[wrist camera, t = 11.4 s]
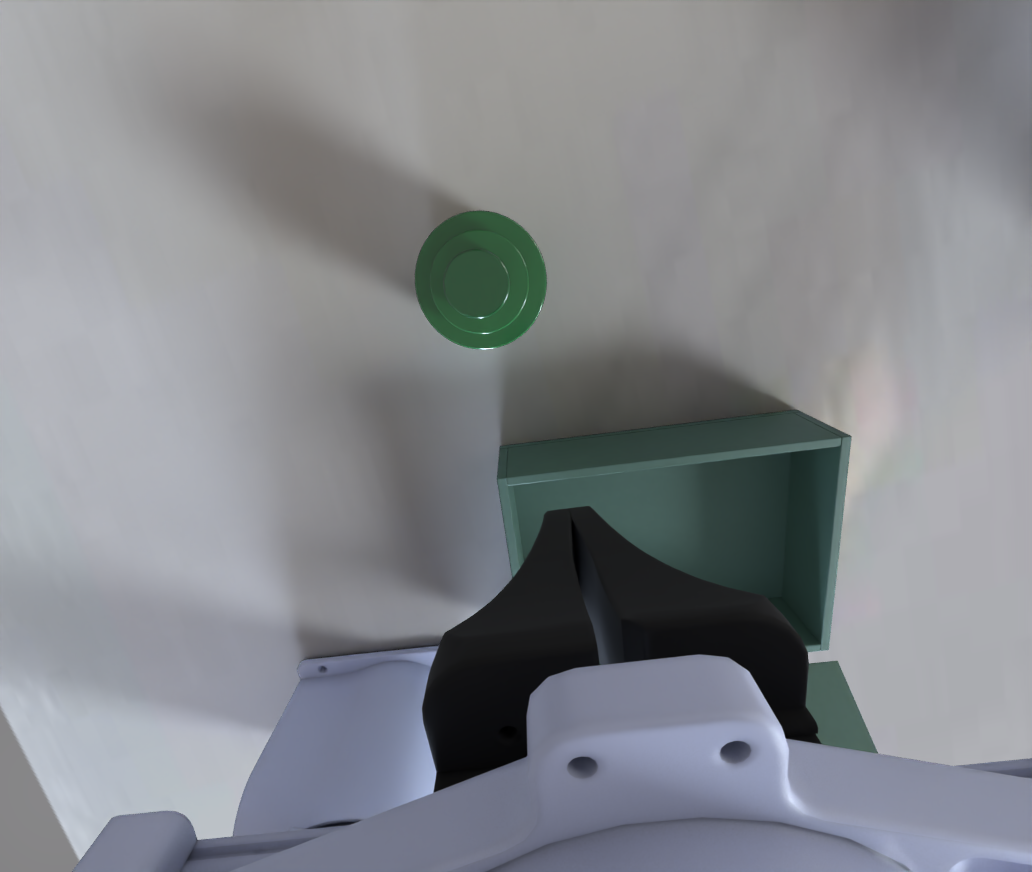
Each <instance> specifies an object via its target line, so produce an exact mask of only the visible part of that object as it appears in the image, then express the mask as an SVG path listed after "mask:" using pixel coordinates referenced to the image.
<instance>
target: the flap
mask: <svg viewBox="0 0 1032 872" xmlns="http://www.w3.org/2000/svg"><path fill="white" fill-rule="evenodd" d="M806 707H807V709H808V710H809V712H810V713H811V715H812V716H813V718H814V719H815V721H816V723H817V726H818V734H816V736H817V737H818V739H819V740H820V742H821V743H822V745H828V746H834V747H840V748H846V749H852V750H859V751H865V752H871V753H877V754H878V752H877V750H876V748H875V745H874V743H873V741H872V739H871V736H870V734H869V732H868V729H867V727H866V725H865V723H864V720H863V718H862V716H861V713H860V711H859V709H858V707H857V704H856V702H855V700H854V697H853V695H852V693H851V691H850V688H849V686H848V684H847V681H846V679H845V677H844V675H843V672H842V670H841V668H840V665H839V663H838V661H830V662H820V663H810V664H809V670H808V683H807V695H806Z"/></svg>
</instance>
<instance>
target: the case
mask: <svg viewBox="0 0 1032 872" xmlns="http://www.w3.org/2000/svg"><path fill="white" fill-rule="evenodd" d="M850 445H851V436H850V435H848V434H846V433H844V432H842V431H840V430H837V429H835V428H833V427H831V426H829V425H827V424H825V423H823V422H821V421H819V420H817V419H815V418H813V417H811V416H809V415H807V414H805V413H803V412H801V411H799V410H790V411H782V412H774V413H766V414H758V415H750V416H741V417H733V418H725V419H717V420H709V421H701V422H693V423H685V424H676V425H668V426H660V427H652V428H644V429H636V430H628V431H620V432H612V433H603V434H595V435H587V436H579V437H571V438H563V439H555V440H547V441H538V442H530V443H522V444H514V445H506V446H500V451H499V462H498V473H497V483H498V489H499V496H500V502H501V508H502V515H503V521H504V527H505V534H506V540H507V546H508V553H509V559H510V566H511V572H512V578H513V577H514V576H515V574H516V573H517V572H518V570H519V569H520V567H521V566H522V564H523V563H524V561H525V559H526V557H527V556H528V554H529V552H530V550H531V549H532V547H533V545H534V542H535V540H536V538H537V536H538V534H539V531H540V528H541V525H542V522H543V518H544V514H545V513H546V512H547V511H550V510H558V509H567V508H575V507H583V506H590V507H592V508H593V509H594V510H595V511H596V512H597V513H598V514H599V515H600V516H601V517H602V518H603V519H604V520H605V521H606V522H607V523H608V524H609V525H610V526H611V527H612V528H614V529H615V530H616V531H617V532H618V533H619V534H621V535H622V536H623V537H624V538H625V539H627V540H628V541H629V542H631V543H632V544H633V545H635V546H636V547H638V548H639V549H641V550H642V551H644V552H645V553H647V554H649V555H650V556H652V557H654V558H656V559H658V560H659V561H661V562H663V563H665V564H667V565H669V566H671V567H673V568H675V569H678V570H680V571H682V572H685V573H687V574H689V575H692V576H694V577H697V578H700V579H703V580H705V581H709V582H712V583H715V584H718V585H722V586H725V587H728V588H733V589H737V590H742V591H746V592H751V593H755V594H760V595H764V596H765V597H766V598H767V599H768V600H769V601H770V602H771V603H772V604H773V605H774V606H775V607H776V608H777V609H778V610H779V611H780V612H781V613H782V614H783V616H784V617H785V618H786V619H787V620H788V621H789V623H790V624H791V625H792V627H793V628H794V629H795V630H796V632H797V633H798V634H799V635H800V637H801V638H802V641H803V643H804V645H805V647H806V649H807V651H808V652H813V651H820V650H821V651H823V650H829V643H830V633H831V624H832V614H833V605H834V596H835V586H836V577H837V567H838V558H839V549H840V539H841V530H842V520H843V511H844V502H845V492H846V483H847V473H848V464H849V455H850ZM599 665H600V661H599Z"/></svg>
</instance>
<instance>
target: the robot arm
mask: <svg viewBox="0 0 1032 872" xmlns="http://www.w3.org/2000/svg"><path fill="white" fill-rule="evenodd" d="M599 661H600V665H599ZM322 666H325V667H326V668H324V667H322ZM808 670H809V662H808V651H807V649H806V647H805V645H804V643H803V641H802V638H801V637H800V635H799V634H798V633H797V632H796V630H795V629H794V628H793V627H792V625H791V624H790V623H789V621H788V620H787V619H786V618H785V617H784V616H783V614H782V613H781V612H780V611H779V610H778V609H777V608H776V607H775V606H774V605H773V604H772V603H771V602H770V601H769V600H768V599H767V598H766V597H765V596H764V595H760V594H755V593H751V592H746V591H742V590H737V589H733V588H728V587H725V586H722V585H718V584H715V583H712V582H709V581H705V580H703V579H700V578H697V577H694V576H692V575H689V574H687V573H685V572H682V571H680V570H678V569H675V568H673V567H671V566H669V565H667V564H665V563H663V562H661V561H659V560H658V559H656V558H654V557H652V556H650V555H649V554H647V553H645V552H644V551H642V550H641V549H639V548H638V547H636V546H635V545H633V544H632V543H631V542H629V541H628V540H627V539H625V538H624V537H623V536H622V535H621V534H619V533H618V532H617V531H616V530H615V529H614V528H612V527H611V526H610V525H609V524H608V523H607V522H606V521H605V520H604V519H603V518H602V517H601V516H600V515H599V514H598V513H597V512H596V511H595V510H594V509H593V508H592V507H590V506H583V507H575V508H567V509H558V510H550V511H547V512H546V513H545V514H544V518H543V522H542V525H541V528H540V531H539V534H538V536H537V538H536V540H535V542H534V545H533V547H532V549H531V550H530V552H529V554H528V556H527V557H526V559H525V561H524V563H523V564H522V566H521V567H520V569H519V570H518V572H517V573H516V574H515V576H514V577H513V578H512V580H511V581H510V582H509V583H508V584H507V585H506V587H505V588H504V589H503V590H502V591H501V592H500V593H499V594H498V595H497V596H496V597H495V598H494V599H493V600H492V601H491V602H489V603H488V604H487V605H486V606H485V607H483V608H482V609H481V610H479V611H478V612H477V613H476V614H474V615H473V616H471V617H470V618H468V619H467V620H465V621H463V622H462V623H460V624H459V625H457V626H455V627H454V628H452V629H451V630H449V631H447V632H445V634H444V635H443V638H442V640H441V642H440V645H439V646H431V647H422V648H412V649H403V650H393V651H384V652H374V653H365V654H355V655H346V656H337V657H327V658H318V659H308V660H303V661H302V662H300V664H299V666H298V668H297V672H298V675H299V677H300V682H299V684H298V685H297V687H296V689H295V691H294V693H293V695H292V697H291V699H290V701H289V703H288V704H287V706H286V708H285V710H284V712H283V714H282V716H281V718H280V720H279V721H278V723H277V725H276V727H275V729H274V731H273V733H272V735H271V737H270V738H269V740H268V742H267V744H266V746H265V748H264V750H263V752H262V754H261V755H260V757H259V759H258V761H257V763H256V765H255V767H254V769H253V771H252V773H251V775H250V777H249V779H248V781H247V784H246V786H245V789H244V791H243V794H242V797H241V801H240V804H239V808H238V812H237V816H236V820H235V825H234V831H233V837H224V838H213V839H203V840H197V837H196V834H195V831H194V828H193V826H192V824H191V822H190V820H189V819H188V818H187V817H186V816H185V815H183V814H181V813H178V812H176V811H159V812H149V813H139V814H129V815H119V816H116V817H113V818H111V820H110V821H109V822H108V824H107V825H106V826H105V828H104V829H103V830H102V832H101V833H100V834H99V836H98V837H97V838H96V840H95V841H94V842H93V844H92V845H91V846H90V848H89V849H88V851H87V852H86V853H85V855H84V856H83V857H82V859H81V860H80V861H79V863H78V864H77V865H76V867H75V868H74V870H73V871H72V872H1032V758H1030V759H1020V760H1009V761H999V762H989V763H979V764H969V765H958V766H950V765H944V764H938V763H932V762H926V761H920V760H914V759H907V758H901V757H895V756H889V755H883V754H877V753H871V752H865V751H859V750H852V749H846V748H840V747H834V746H828V745H822V743H821V742H820V740H819V739H818V737H817V736H816V734H818V726H817V723H816V721H815V719H814V718H813V716H812V715H811V713H810V712H809V710H808V709H807V707H806V695H807V683H808Z"/></svg>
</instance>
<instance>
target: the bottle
mask: <svg viewBox="0 0 1032 872" xmlns="http://www.w3.org/2000/svg"><path fill="white" fill-rule="evenodd" d="M546 287H547V275H546V269H545V264H544V260H543V257H542V255H541V252H540V250H539V248H538V246H537V244H536V243H535V241H534V240H533V238H532V237H531V236H530V235H529V233H528V232H527V231H526V230H525V229H524V228H523V227H522V226H520V225H519V224H518V223H516V222H515V221H513V220H512V219H510V218H508V217H506V216H503V215H501V214H498V213H494V212H490V211H469V212H464V213H460V214H458V215H455V216H453V217H451V218H449V219H447V220H445V221H444V222H443V223H441V224H440V225H439V226H437V227H436V228H435V229H434V230H433V231H432V233H431V234H430V235H429V236H428V238H427V239H426V241H425V242H424V244H423V246H422V248H421V250H420V253H419V255H418V259H417V263H416V269H415V288H416V294H417V298H418V302H419V304H420V307H421V309H422V311H423V313H424V315H425V317H426V318H427V320H428V321H429V322H430V324H431V325H432V326H433V327H434V328H435V329H436V330H437V331H438V332H439V333H440V334H441V335H442V336H444V337H445V338H447V339H448V340H450V341H452V342H454V343H456V344H458V345H461V346H463V347H467V348H472V349H493V348H498V347H501V346H504V345H507V344H509V343H511V342H513V341H515V340H516V339H518V338H519V337H521V336H522V335H523V334H524V333H525V332H526V331H527V330H528V329H529V328H530V327H531V326H532V325H533V323H534V322H535V320H536V319H537V317H538V315H539V313H540V311H541V309H542V306H543V303H544V300H545V295H546Z"/></svg>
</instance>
